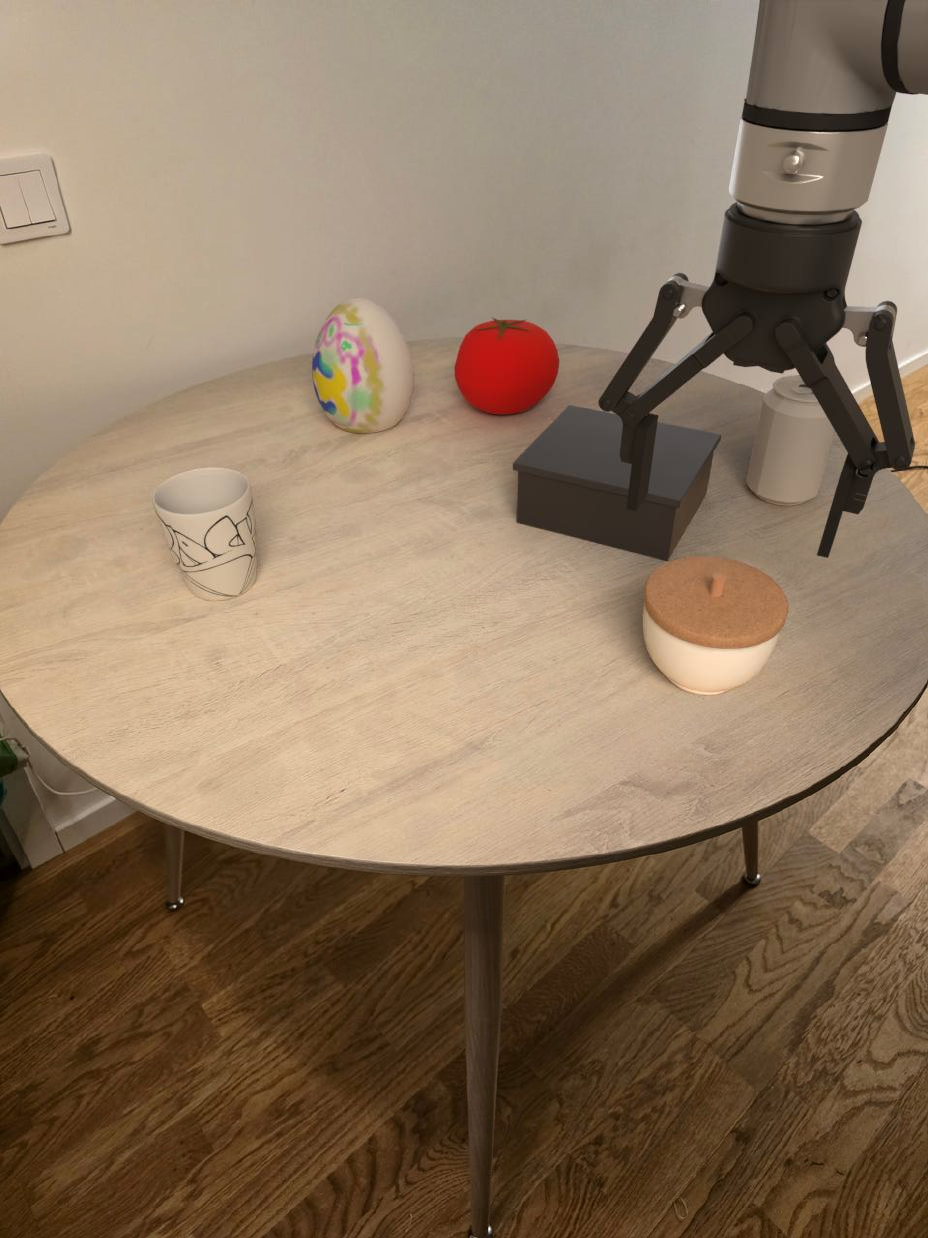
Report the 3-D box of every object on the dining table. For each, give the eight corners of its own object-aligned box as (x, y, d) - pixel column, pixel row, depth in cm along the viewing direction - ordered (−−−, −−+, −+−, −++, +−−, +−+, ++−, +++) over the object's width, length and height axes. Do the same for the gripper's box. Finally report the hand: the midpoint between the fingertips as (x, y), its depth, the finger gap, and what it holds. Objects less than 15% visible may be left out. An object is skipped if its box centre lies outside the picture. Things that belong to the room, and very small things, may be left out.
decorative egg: (299, 419, 109) (281, 299, 100) (376, 390, 115) (366, 275, 106) (357, 452, 102) (344, 325, 93) (436, 419, 108) (431, 298, 99)
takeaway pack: (711, 493, 93) (721, 434, 88) (670, 564, 83) (680, 501, 78) (565, 461, 99) (569, 404, 95) (511, 523, 89) (512, 462, 84)
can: (832, 497, 92) (863, 390, 84) (781, 516, 89) (808, 408, 81) (779, 468, 97) (803, 365, 89) (729, 486, 94) (750, 380, 87)
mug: (149, 566, 84) (121, 475, 78) (227, 535, 88) (207, 446, 82) (202, 621, 77) (177, 526, 71) (284, 584, 81) (267, 491, 75)
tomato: (436, 408, 111) (433, 322, 104) (506, 378, 118) (507, 296, 111) (505, 437, 104) (506, 347, 97) (573, 403, 111) (579, 317, 104)
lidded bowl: (607, 667, 71) (617, 574, 65) (687, 613, 77) (703, 523, 71) (716, 737, 65) (738, 641, 59) (794, 672, 70) (822, 578, 65)
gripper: (564, 198, 51) (547, 507, 64) (1043, 250, 42) (908, 598, 55) (608, 172, 56) (584, 463, 69) (1043, 213, 47) (919, 539, 60)
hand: (727, 523), depth 62 cm, fingers open, 13 cm apart
